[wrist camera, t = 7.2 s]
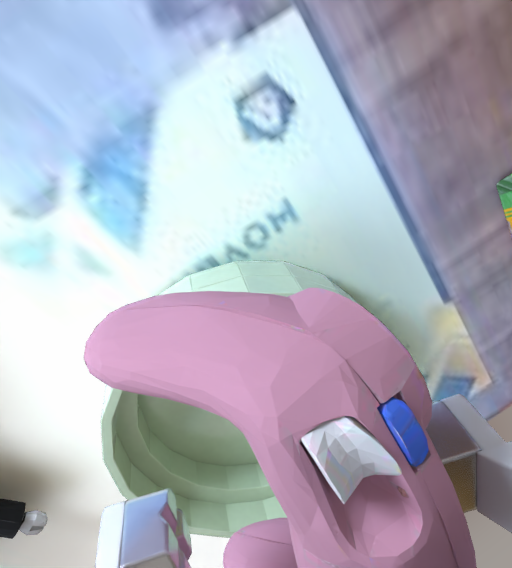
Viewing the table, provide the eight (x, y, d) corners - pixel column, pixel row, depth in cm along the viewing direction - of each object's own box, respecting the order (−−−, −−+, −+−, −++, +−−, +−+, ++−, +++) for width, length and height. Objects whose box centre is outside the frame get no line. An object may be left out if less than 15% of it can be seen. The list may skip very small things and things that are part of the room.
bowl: (353, 222, 29) (389, 251, 25) (382, 434, 37) (413, 484, 33) (63, 307, 28) (45, 353, 23) (159, 507, 36) (160, 570, 32)
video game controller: (321, 471, 17) (528, 629, 11) (219, 572, 15) (407, 823, 9) (220, 221, 12) (489, 281, 6) (53, 322, 10) (231, 528, 5)
